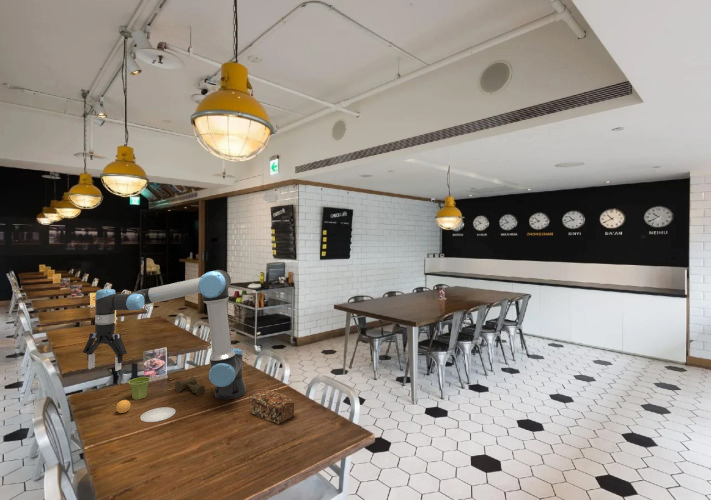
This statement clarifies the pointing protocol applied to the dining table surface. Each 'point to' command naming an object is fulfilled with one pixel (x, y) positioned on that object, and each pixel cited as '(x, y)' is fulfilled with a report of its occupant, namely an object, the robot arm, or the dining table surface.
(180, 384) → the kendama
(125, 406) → the ball
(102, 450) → the dining table surface
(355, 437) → the dining table surface
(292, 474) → the dining table surface
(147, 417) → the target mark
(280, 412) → the bread
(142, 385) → the plant pot
